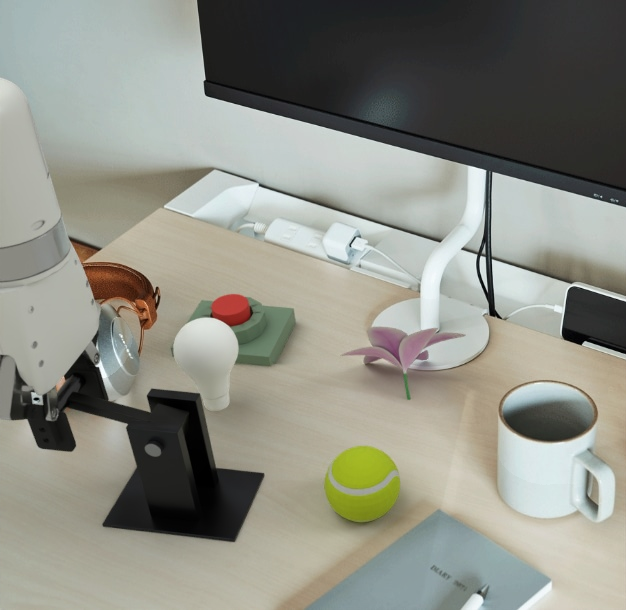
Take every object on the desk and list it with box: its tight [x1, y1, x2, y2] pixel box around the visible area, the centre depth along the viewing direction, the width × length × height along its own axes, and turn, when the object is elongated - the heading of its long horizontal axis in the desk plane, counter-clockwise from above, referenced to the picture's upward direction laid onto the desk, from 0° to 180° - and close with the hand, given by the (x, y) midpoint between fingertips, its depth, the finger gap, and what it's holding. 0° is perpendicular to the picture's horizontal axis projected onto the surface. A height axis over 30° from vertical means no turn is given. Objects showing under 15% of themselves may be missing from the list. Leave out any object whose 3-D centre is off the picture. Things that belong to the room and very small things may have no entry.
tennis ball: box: [324, 445, 401, 523], centre depth 82 cm, size 7×7×7 cm
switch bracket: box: [101, 388, 265, 543], centre depth 80 cm, size 12×8×12 cm, turn 82°
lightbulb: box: [173, 318, 239, 412], centre depth 91 cm, size 6×6×11 cm
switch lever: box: [57, 373, 189, 437], centre depth 78 cm, size 11×5×2 cm, turn 82°
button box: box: [170, 296, 297, 367], centre depth 103 cm, size 11×9×4 cm
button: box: [211, 293, 251, 327], centre depth 101 cm, size 4×4×2 cm
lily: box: [340, 326, 467, 401], centre depth 96 cm, size 12×12×10 cm
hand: (74, 422), depth 79 cm, fingers closed on switch lever, 5 cm apart
